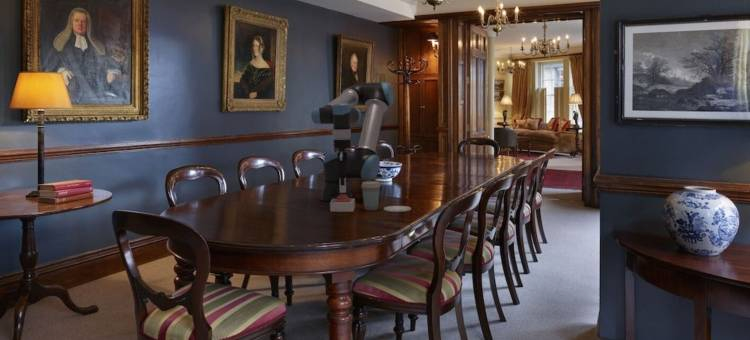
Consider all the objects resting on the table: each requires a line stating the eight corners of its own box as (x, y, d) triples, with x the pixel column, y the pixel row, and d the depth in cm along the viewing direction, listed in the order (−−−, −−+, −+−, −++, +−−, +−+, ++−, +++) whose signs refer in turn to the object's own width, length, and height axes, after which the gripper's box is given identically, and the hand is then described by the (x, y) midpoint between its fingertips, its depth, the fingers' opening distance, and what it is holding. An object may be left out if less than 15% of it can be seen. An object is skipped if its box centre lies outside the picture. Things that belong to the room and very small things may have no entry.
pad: (378, 209, 252) (378, 207, 252) (398, 205, 259) (398, 204, 259) (396, 212, 243) (396, 211, 243) (416, 209, 250) (416, 208, 250)
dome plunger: (333, 207, 248) (333, 196, 247) (335, 204, 255) (335, 193, 254) (350, 207, 247) (350, 196, 247) (352, 204, 255) (352, 193, 254)
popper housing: (330, 211, 247) (330, 202, 246) (332, 207, 257) (332, 198, 256) (353, 211, 246) (353, 202, 246) (355, 207, 256) (354, 198, 256)
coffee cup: (383, 208, 254) (383, 181, 253) (377, 211, 246) (376, 184, 245) (365, 207, 257) (365, 180, 256) (358, 210, 249) (358, 183, 248)
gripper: (335, 137, 254) (336, 189, 257) (331, 140, 241) (332, 194, 244) (351, 137, 254) (352, 189, 257) (349, 140, 241) (350, 194, 244)
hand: (342, 192), depth 251 cm, fingers closed
